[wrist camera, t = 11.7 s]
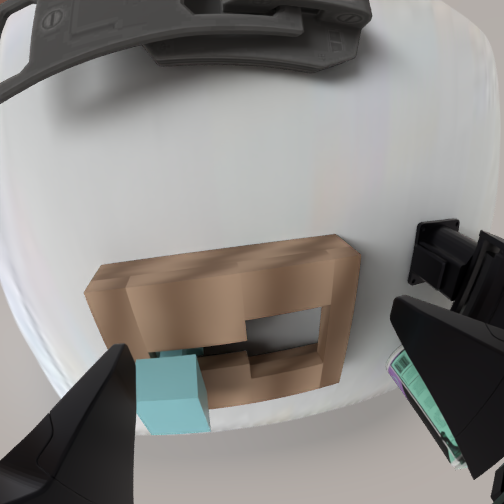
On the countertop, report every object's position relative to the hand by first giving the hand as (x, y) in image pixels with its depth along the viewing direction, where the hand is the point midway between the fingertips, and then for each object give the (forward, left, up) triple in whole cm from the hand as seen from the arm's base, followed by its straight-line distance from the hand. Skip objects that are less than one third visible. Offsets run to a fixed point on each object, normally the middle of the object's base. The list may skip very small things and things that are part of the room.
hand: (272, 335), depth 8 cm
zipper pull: (+3, -14, -12) cm, 19 cm away
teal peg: (+5, +9, -12) cm, 16 cm away
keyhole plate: (+1, +9, -12) cm, 15 cm away
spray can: (-20, +20, -12) cm, 31 cm away
